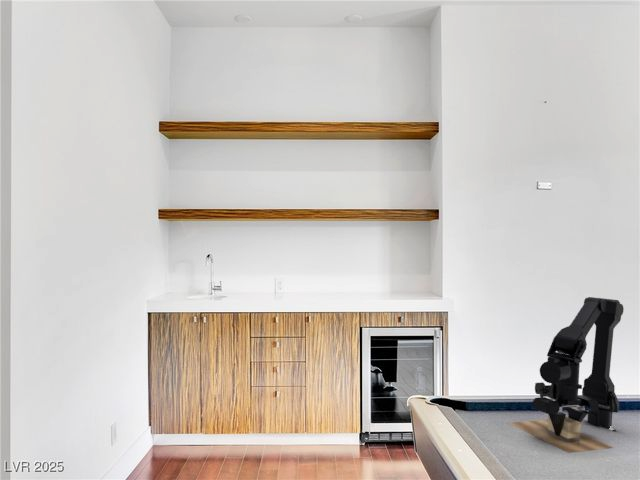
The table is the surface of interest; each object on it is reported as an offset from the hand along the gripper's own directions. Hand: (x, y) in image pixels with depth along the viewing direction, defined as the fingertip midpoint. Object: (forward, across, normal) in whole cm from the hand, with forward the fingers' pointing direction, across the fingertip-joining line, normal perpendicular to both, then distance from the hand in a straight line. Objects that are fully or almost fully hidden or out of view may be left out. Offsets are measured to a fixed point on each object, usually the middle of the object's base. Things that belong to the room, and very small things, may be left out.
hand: (563, 435), depth 141 cm
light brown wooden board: (+2, 0, -2) cm, 3 cm away
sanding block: (+1, 0, 0) cm, 1 cm away
